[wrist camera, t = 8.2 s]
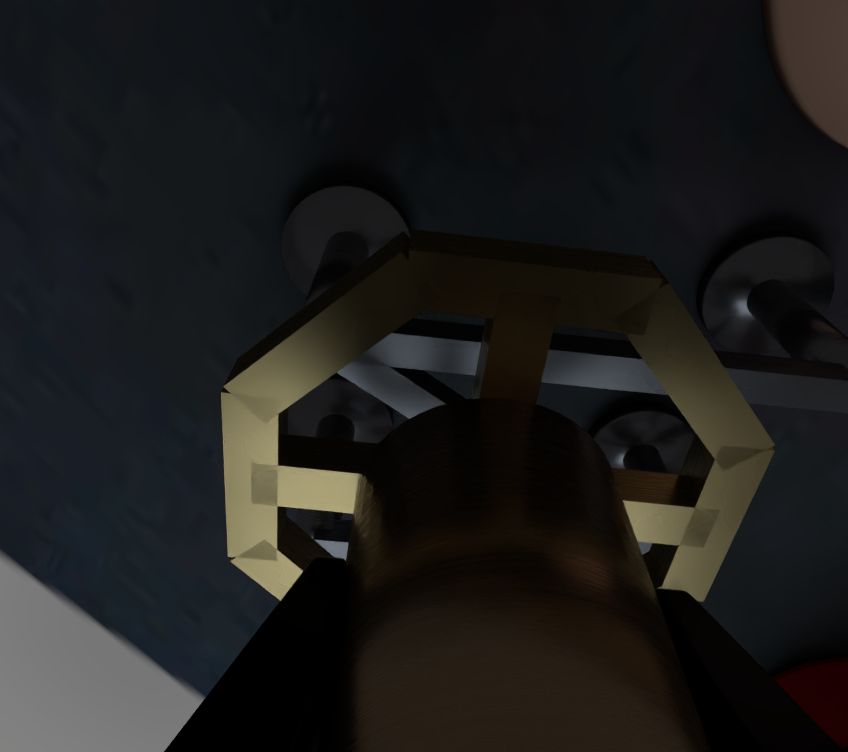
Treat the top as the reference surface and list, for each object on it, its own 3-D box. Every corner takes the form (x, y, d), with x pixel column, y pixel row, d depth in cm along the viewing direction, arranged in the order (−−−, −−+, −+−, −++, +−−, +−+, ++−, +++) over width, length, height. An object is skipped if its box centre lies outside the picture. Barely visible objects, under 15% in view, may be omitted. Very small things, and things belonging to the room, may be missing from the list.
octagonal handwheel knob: (816, 276, 9) (1489, 819, 3) (650, 652, 13) (823, 1202, 7) (231, 207, 9) (-180, 680, 3) (242, 615, 13) (77, 1164, 7)
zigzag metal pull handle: (844, 238, 19) (995, 335, 14) (728, 499, 24) (808, 640, 19) (285, 173, 18) (232, 251, 13) (282, 457, 23) (242, 594, 18)
